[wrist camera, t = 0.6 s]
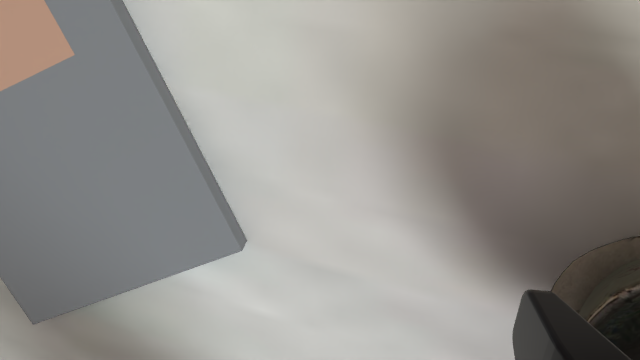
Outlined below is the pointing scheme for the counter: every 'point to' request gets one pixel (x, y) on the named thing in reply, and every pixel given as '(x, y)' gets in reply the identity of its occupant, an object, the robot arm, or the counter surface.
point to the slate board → (95, 162)
